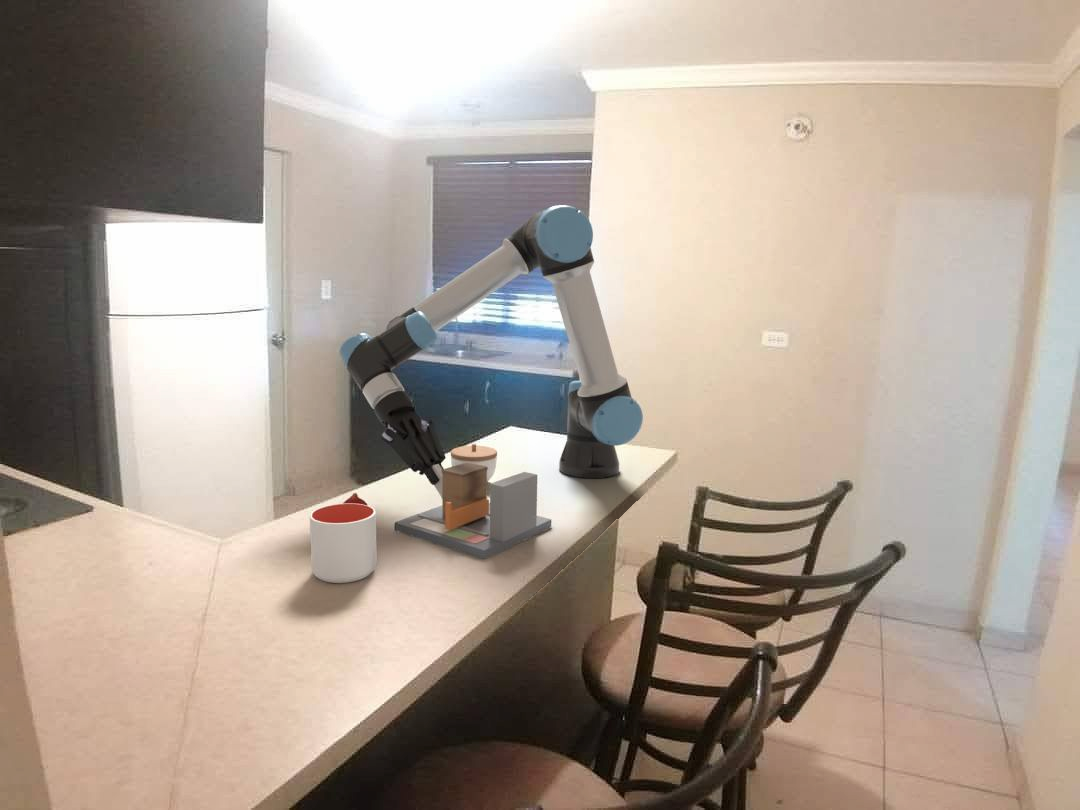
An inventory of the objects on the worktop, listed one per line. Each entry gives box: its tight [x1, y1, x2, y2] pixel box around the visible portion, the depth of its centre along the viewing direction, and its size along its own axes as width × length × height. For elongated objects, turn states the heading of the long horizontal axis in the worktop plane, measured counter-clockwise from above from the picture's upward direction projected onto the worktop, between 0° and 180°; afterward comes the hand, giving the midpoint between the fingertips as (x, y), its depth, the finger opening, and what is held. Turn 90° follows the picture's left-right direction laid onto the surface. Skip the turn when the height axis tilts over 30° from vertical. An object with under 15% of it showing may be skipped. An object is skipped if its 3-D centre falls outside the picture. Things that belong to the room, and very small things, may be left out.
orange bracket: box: [445, 498, 490, 530], centre depth 128 cm, size 11×1×5 cm, turn 145°
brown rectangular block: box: [441, 462, 488, 519], centre depth 131 cm, size 7×5×10 cm
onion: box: [342, 492, 369, 506], centre depth 126 cm, size 6×6×8 cm
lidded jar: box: [450, 443, 498, 483], centre depth 160 cm, size 11×11×9 cm
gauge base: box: [393, 471, 552, 560], centre depth 130 cm, size 20×22×12 cm
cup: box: [309, 503, 378, 584], centre depth 109 cm, size 10×10×10 cm
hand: (449, 495), depth 133 cm, fingers closed
